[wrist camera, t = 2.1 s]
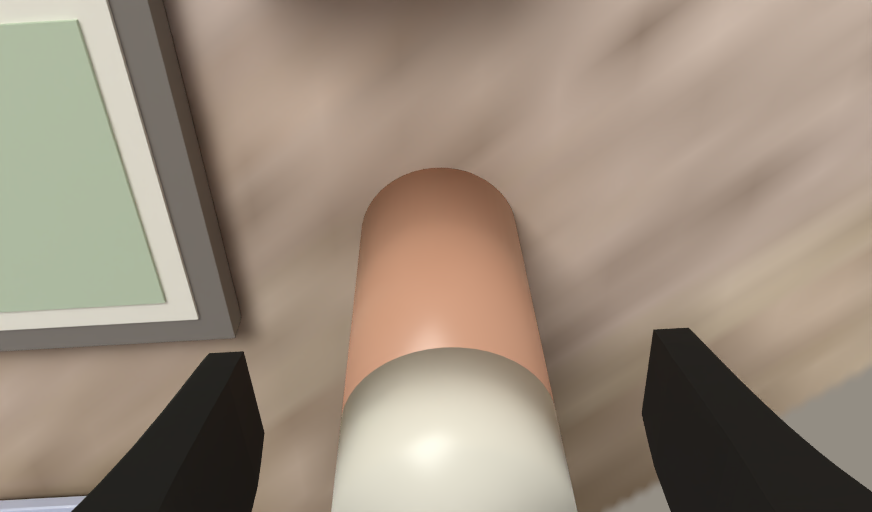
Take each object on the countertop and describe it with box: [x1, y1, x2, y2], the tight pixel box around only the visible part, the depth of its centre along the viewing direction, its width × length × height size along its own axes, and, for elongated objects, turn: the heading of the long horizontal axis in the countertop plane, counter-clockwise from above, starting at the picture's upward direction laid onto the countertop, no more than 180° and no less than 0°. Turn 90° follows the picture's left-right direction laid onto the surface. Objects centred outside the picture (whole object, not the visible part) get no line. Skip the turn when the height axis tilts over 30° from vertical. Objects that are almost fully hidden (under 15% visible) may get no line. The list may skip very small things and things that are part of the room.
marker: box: [331, 168, 577, 512], centre depth 14 cm, size 4×4×8 cm
